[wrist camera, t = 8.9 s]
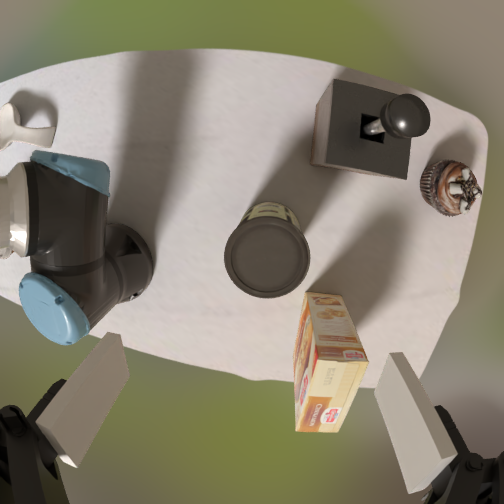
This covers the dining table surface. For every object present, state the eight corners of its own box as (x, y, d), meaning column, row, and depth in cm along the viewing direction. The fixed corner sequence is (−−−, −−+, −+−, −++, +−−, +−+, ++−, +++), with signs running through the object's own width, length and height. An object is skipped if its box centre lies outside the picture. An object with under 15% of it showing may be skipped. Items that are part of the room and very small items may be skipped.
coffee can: (255, 271, 50) (247, 310, 36) (228, 218, 47) (208, 239, 34) (310, 247, 48) (323, 279, 34) (284, 191, 45) (288, 201, 32)
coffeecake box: (304, 290, 50) (316, 358, 31) (342, 294, 50) (372, 360, 31) (291, 357, 54) (293, 432, 36) (325, 359, 54) (339, 433, 35)
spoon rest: (-2, 146, 47) (-22, 148, 40) (8, 102, 43) (-11, 100, 36) (49, 163, 47) (26, 165, 40) (62, 109, 44) (40, 106, 37)
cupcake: (432, 147, 40) (463, 146, 31) (464, 182, 41) (496, 188, 32) (406, 189, 43) (434, 196, 34) (440, 222, 44) (470, 235, 35)
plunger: (324, 155, 39) (368, 146, 19) (329, 109, 37) (374, 64, 17) (370, 164, 38) (443, 166, 19) (374, 119, 36) (446, 89, 17)
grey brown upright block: (309, 164, 44) (325, 163, 29) (316, 105, 41) (333, 78, 26) (368, 174, 43) (406, 179, 29) (374, 117, 40) (413, 99, 26)
